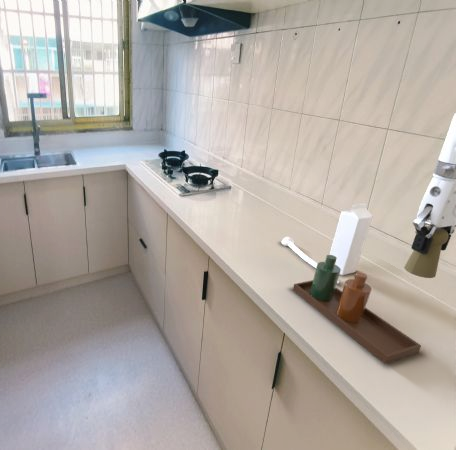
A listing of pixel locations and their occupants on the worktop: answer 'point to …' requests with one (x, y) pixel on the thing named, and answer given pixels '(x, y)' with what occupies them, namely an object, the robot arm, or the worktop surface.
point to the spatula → (299, 251)
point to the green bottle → (325, 279)
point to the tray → (364, 328)
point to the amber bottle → (354, 299)
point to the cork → (427, 256)
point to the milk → (351, 237)
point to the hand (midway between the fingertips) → (428, 248)
